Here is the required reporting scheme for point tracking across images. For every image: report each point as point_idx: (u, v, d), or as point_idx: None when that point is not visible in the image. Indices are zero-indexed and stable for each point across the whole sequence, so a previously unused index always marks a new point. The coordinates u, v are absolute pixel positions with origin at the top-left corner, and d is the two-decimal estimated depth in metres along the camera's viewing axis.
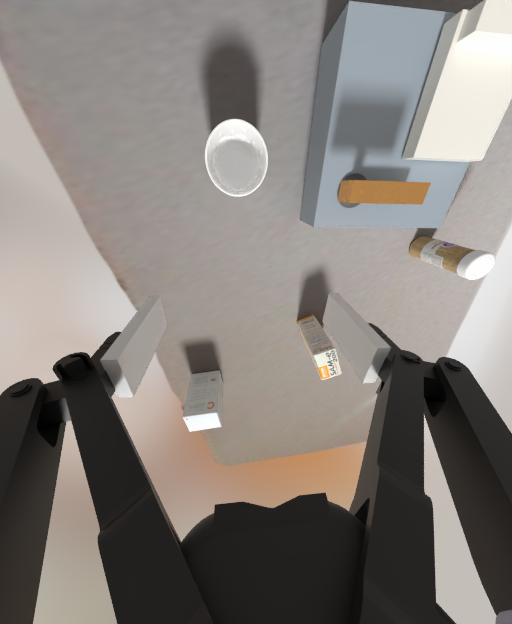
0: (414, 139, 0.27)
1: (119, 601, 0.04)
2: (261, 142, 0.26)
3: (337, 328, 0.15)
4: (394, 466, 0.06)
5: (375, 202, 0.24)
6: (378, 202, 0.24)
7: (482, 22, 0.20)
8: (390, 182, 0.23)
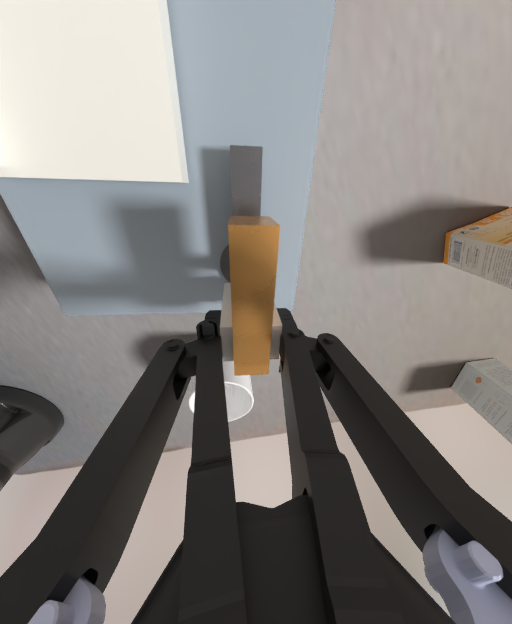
0: None
1: (188, 533, 0.05)
2: None
3: None
4: (313, 442, 0.07)
5: (269, 336, 0.12)
6: (269, 330, 0.12)
7: None
8: (234, 321, 0.11)
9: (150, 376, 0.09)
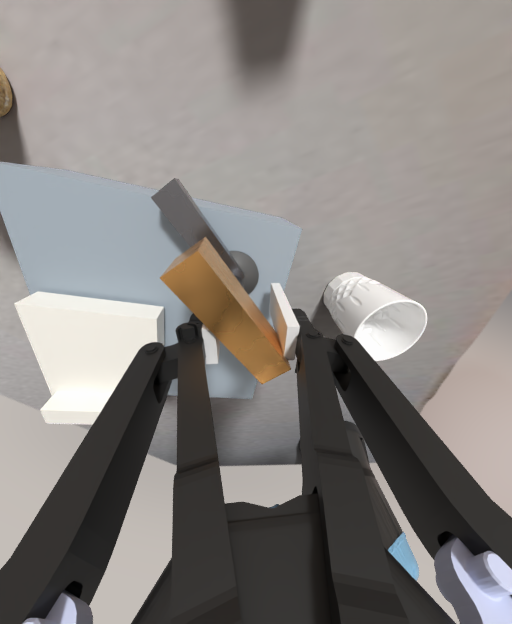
0: (160, 331, 0.19)
1: (177, 540, 0.04)
2: None
3: (274, 315, 0.16)
4: (326, 442, 0.07)
5: (264, 339, 0.12)
6: (261, 334, 0.12)
7: None
8: (225, 343, 0.12)
9: (128, 381, 0.09)
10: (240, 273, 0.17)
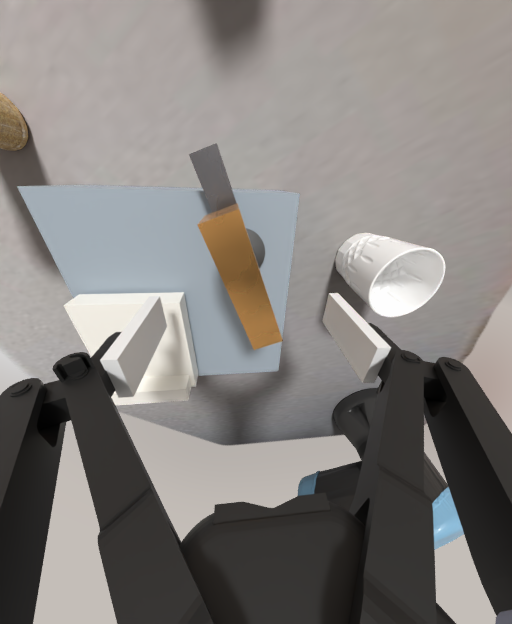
0: (184, 315, 0.21)
1: (119, 601, 0.04)
2: None
3: (337, 328, 0.15)
4: (393, 466, 0.06)
5: (269, 306, 0.13)
6: (267, 301, 0.13)
7: (182, 392, 0.23)
8: (234, 302, 0.13)
9: None
10: None
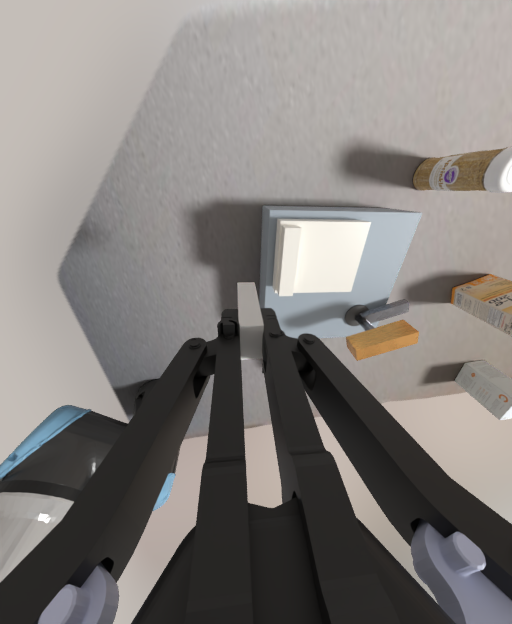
0: None
1: (200, 527, 0.05)
2: None
3: None
4: (299, 443, 0.07)
5: (377, 354, 0.31)
6: (380, 353, 0.31)
7: (289, 293, 0.29)
8: (385, 342, 0.30)
9: (172, 373, 0.09)
10: None
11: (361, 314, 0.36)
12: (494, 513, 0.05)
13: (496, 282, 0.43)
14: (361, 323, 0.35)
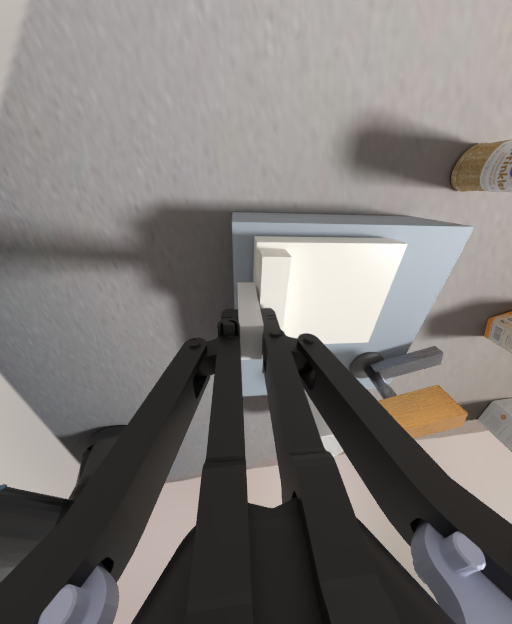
0: None
1: (200, 527, 0.05)
2: None
3: None
4: (299, 443, 0.07)
5: None
6: None
7: None
8: (414, 428, 0.19)
9: (172, 373, 0.09)
10: None
11: (373, 367, 0.25)
12: (494, 513, 0.05)
13: None
14: (374, 381, 0.24)
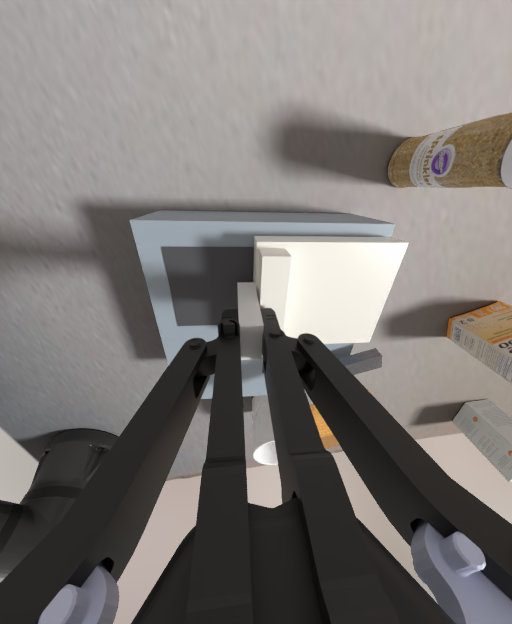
0: None
1: (200, 527, 0.05)
2: None
3: None
4: (299, 443, 0.07)
5: (325, 448, 0.19)
6: (329, 446, 0.19)
7: None
8: None
9: (172, 373, 0.09)
10: None
11: None
12: (494, 513, 0.05)
13: (508, 314, 0.31)
14: None
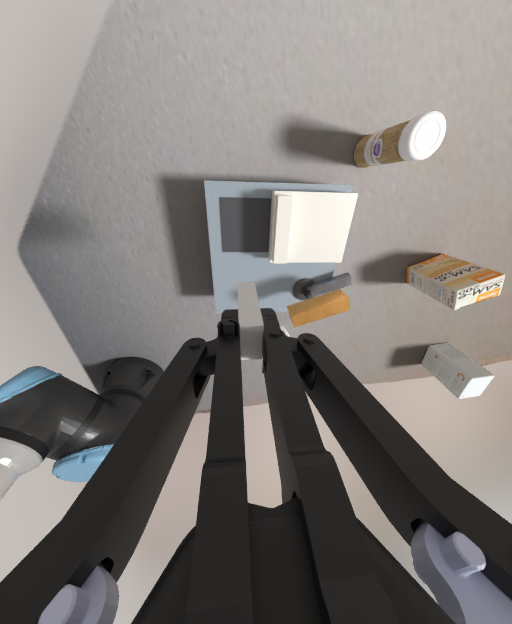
0: None
1: (200, 527, 0.05)
2: None
3: None
4: (299, 442, 0.07)
5: (313, 320, 0.32)
6: (315, 320, 0.32)
7: (283, 260, 0.31)
8: (317, 308, 0.31)
9: (172, 373, 0.09)
10: None
11: (306, 287, 0.38)
12: (494, 513, 0.05)
13: (445, 260, 0.44)
14: (305, 295, 0.37)
